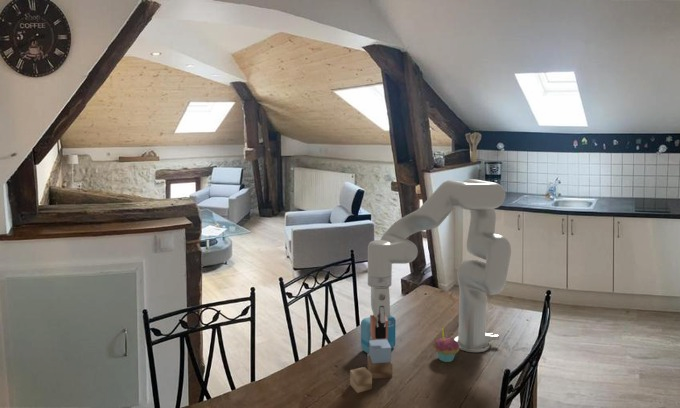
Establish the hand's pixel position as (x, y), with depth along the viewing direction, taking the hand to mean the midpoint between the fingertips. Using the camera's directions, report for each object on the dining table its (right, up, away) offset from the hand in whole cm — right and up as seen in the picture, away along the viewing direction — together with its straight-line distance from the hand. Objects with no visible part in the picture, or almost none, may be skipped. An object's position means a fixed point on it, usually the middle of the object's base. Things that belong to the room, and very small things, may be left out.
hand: (379, 333), depth 159 cm
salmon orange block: (0, -1, 0) cm, 1 cm away
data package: (+1, -11, +18) cm, 21 cm away
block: (-6, -15, -6) cm, 17 cm away
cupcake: (+24, -12, +11) cm, 29 cm away
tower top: (0, -8, +2) cm, 9 cm away
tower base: (0, -13, +3) cm, 14 cm away
